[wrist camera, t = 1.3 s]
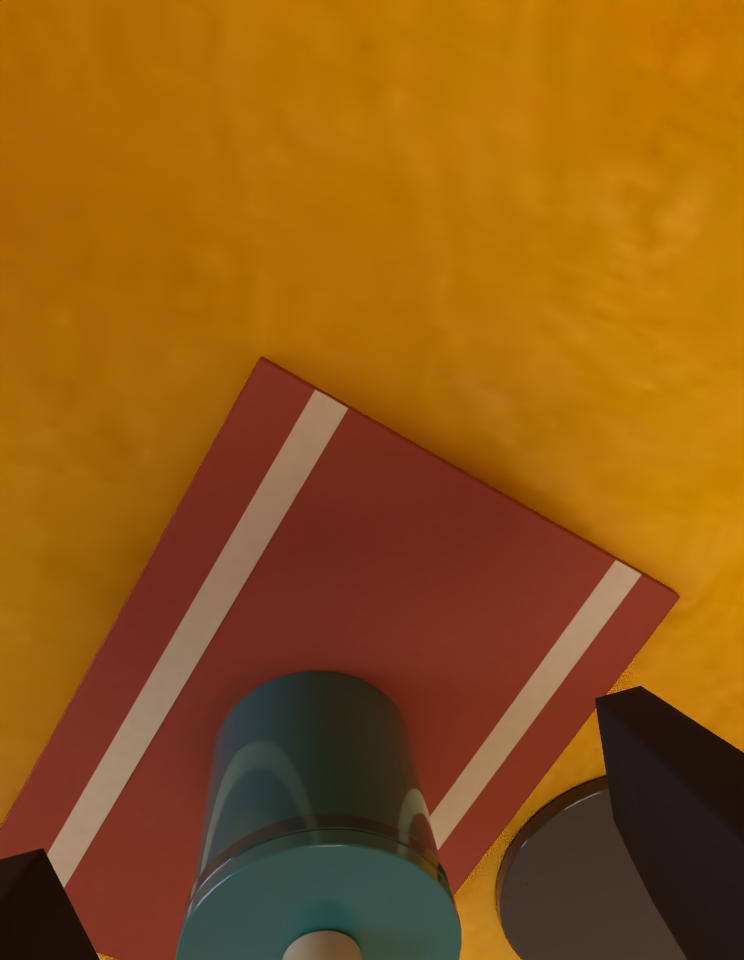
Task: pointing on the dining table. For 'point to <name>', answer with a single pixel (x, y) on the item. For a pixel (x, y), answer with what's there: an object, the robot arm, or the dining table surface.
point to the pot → (317, 834)
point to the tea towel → (324, 648)
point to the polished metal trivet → (578, 887)
